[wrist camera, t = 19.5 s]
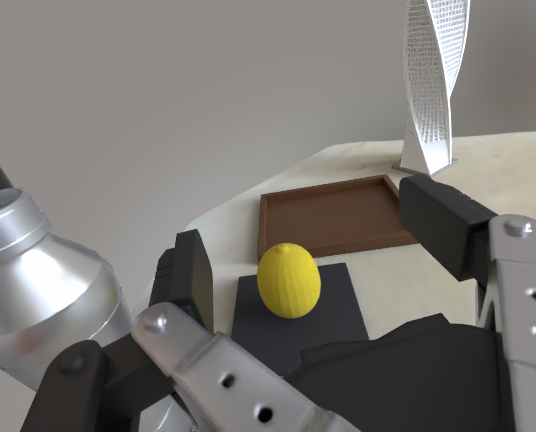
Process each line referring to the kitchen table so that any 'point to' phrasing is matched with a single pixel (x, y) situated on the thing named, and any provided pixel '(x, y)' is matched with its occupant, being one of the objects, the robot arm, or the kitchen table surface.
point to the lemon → (288, 280)
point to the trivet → (297, 321)
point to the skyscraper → (431, 81)
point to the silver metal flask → (59, 301)
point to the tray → (334, 217)
